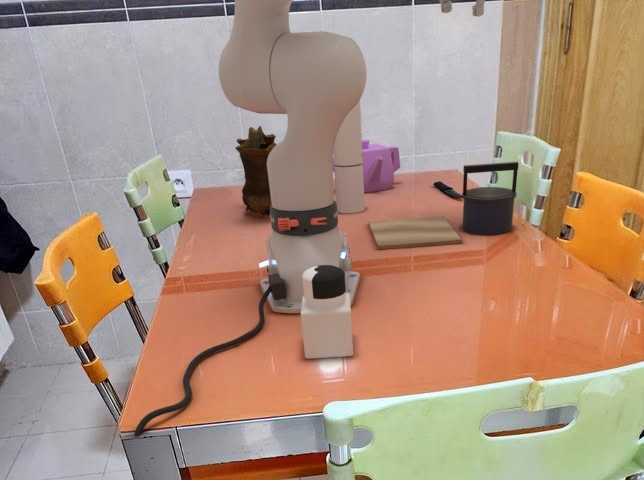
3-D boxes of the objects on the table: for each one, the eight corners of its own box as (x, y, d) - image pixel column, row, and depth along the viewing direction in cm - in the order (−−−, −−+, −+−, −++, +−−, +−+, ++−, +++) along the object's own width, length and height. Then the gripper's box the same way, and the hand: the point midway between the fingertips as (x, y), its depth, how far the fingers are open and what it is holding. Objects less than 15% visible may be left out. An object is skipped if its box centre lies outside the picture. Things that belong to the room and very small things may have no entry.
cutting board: (461, 243, 138) (462, 239, 138) (378, 249, 137) (378, 245, 137) (443, 219, 155) (443, 216, 154) (368, 225, 154) (368, 221, 153)
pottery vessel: (288, 222, 159) (278, 132, 147) (243, 226, 158) (230, 135, 147) (285, 199, 179) (276, 118, 168) (245, 202, 178) (234, 121, 167)
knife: (432, 181, 183) (442, 180, 183) (432, 187, 184) (442, 185, 184) (457, 197, 166) (468, 195, 167) (457, 202, 167) (468, 201, 168)
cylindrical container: (365, 206, 169) (361, 95, 154) (363, 213, 163) (358, 98, 149) (338, 206, 170) (331, 96, 155) (335, 213, 164) (327, 100, 149)
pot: (520, 233, 142) (526, 167, 134) (467, 237, 142) (470, 171, 134) (505, 219, 152) (510, 157, 144) (455, 223, 151) (458, 161, 144)
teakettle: (403, 182, 190) (402, 135, 183) (382, 195, 178) (380, 145, 170) (350, 180, 196) (347, 134, 189) (326, 193, 183) (322, 144, 176)
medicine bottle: (352, 337, 101) (347, 259, 94) (353, 356, 95) (348, 275, 88) (306, 340, 101) (298, 262, 94) (305, 359, 95) (296, 279, 88)
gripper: (409, -67, 129) (418, 15, 139) (482, -67, 116) (485, 23, 126) (433, -77, 131) (439, 5, 141) (507, -78, 118) (508, 12, 128)
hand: (462, 13), depth 134 cm, fingers open, 8 cm apart
